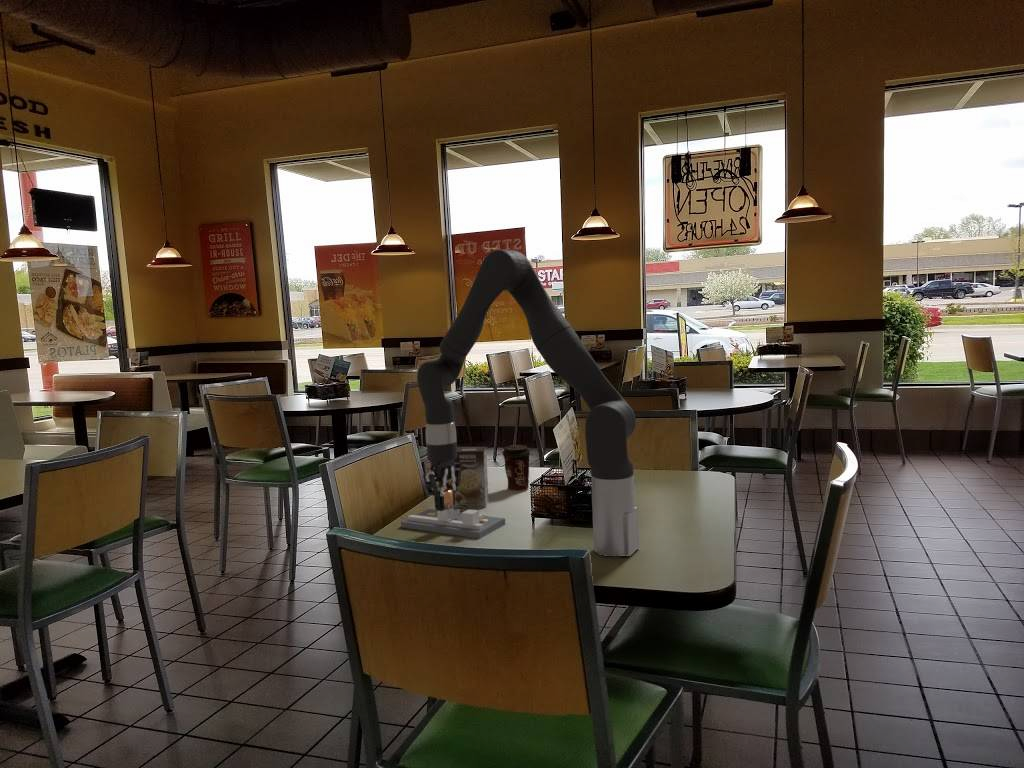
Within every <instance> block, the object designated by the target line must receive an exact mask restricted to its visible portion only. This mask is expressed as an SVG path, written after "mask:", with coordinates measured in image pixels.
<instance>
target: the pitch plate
mask: <svg viewBox="0 0 1024 768" xmlns="http://www.w3.org/2000/svg"><path fill="white" fill-rule="evenodd" d="M479 511H480V510H475V509H467V510H465V511H463V512H460V515H455V516H454V517H455V518H454V519H452V520H450V521H448V522H447V521H440V520H438V515H437V510H436V509H433V508H432V509H431V508H428V509H426V510H424V511H421V512H419V513H417V514H411V515H408V516H407V518H406V519H404V520H401V521H400V527H401V528H404V529H409V530H411V529H412V530H417V531H423V532H425V531H426V532H431V533H438V534H445V533H446V535H452V534H453V536H458V537H459V536H460V537H467V538H474V539H481V538H484V537H486V536H487V535H488V534H490V533H492V532H494V531H496V530H498V529H499V528H501V527H503V526H505V525H506V518H505V517H496V516H488V515H486V514H485V513H484V512H483V513H480V512H479Z"/></svg>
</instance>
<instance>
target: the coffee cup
mask: <svg viewBox="0 0 1024 768" xmlns="http://www.w3.org/2000/svg"><path fill="white" fill-rule="evenodd" d="M530 455H531V452H530V450H529V449H528V446H527V445H523V444H511V445H507V446H504V447H503V451H502V456H503V458H504V459H503V460H504V471H505V474H506V478H507V488H506V489H507V491H508V492H512V493H524V492H526V491H528V489H529V483H530V479H529V478H530Z"/></svg>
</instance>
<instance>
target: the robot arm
mask: <svg viewBox="0 0 1024 768" xmlns="http://www.w3.org/2000/svg"><path fill="white" fill-rule="evenodd" d="M504 291H505V292H506V291H507V292H508V293H509V295H511V296H512V297H513V299H514V300H515V301H516V303H517V304H518V305H519V307H520V309H521V310H522V312H523V314H524V316H525V319H526V323H527V326H528V331H529V333H530V337H531V340H532V342H533V345H534V346H535V349H536V350H537V351H538V352H539V354H540V356H541V357H542V358H543V360H544V361H545V363H546V364H547V366H548V367H549V369H551V371H553V372H554V373H555V374H556V375H557V376H558V377H559V378H560V379H562V381H564V382H565V383H567V384H568V385H569V386H570V387H571V388H573V389H574V390H575V391H576V392H577V393H578V394H579V396H580V397H581V398H582V400H583V401H584V402H585V404H586V405H587V407H588V408H589V410H590V411H589V412H588V413H587V416H586V418H585V425H584V433H585V435H584V436H585V447H586V458H587V463H588V465H589V467H590V474H591V475H590V476H591V479H590V480H591V505H592V508H591V509H592V530H593V531H592V533H593V535H592V536H593V552H594V551H595V552H596V553H598V554H601V555H607V556H619V555H628V556H629V555H631V554H632V553H633V552H634V551H635V550H637V549H638V548H639V549H640V533H639V531H640V530H639V528H640V527H639V507H637V506H635V481H634V480H635V479H634V478H635V475H634V463H633V462H632V460H631V459H629V456H628V445H627V444H628V443H627V439H629V438H630V437H631V436H632V435H633V434H634V432H635V430H636V428H637V419H636V415H635V413H634V410H633V408H632V407H631V405H630V404H628V402H627V401H626V400H625V399H624V397H623V396H622V395H621V394H620V393H619V391H617V389H616V388H615V387H614V386H613V385H612V383H611V382H610V381H609V380H608V378H607V377H606V376H605V374H604V373H603V371H602V370H601V368H600V367H599V365H598V364H597V362H596V361H595V359H594V358H593V356H592V355H591V353H590V352H589V350H588V349H587V348H586V346H585V344H584V342H583V341H582V339H581V338H580V337H579V335H578V334H577V332H576V331H575V330H574V328H573V327H572V325H571V324H570V322H568V320H567V319H566V318H565V316H564V314H563V313H562V311H561V310H560V309H559V308H558V306H557V305H556V303H555V302H554V301H553V299H552V298H551V297H550V295H549V294H548V292H547V291H546V289H545V287H544V285H543V283H542V282H541V280H540V278H539V276H538V275H537V272H536V271H535V269H534V267H533V265H532V264H531V262H530V260H529V259H528V258H527V256H526V255H524V254H523V253H521V252H520V251H517V250H515V249H514V250H513V249H502V248H501V249H495V250H492V251H490V252H489V253H488V254H487V255H486V256H485V257H484V258H483V261H482V263H481V264H480V267H479V269H478V272H477V273H476V276H475V278H474V280H473V283H472V285H471V288H470V289H469V292H468V294H467V297H466V298H465V301H464V302H463V305H462V307H461V308H460V311H459V312H458V314H457V316H456V317H455V318H454V321H453V322H452V324H451V325H450V327H449V328H448V330H447V332H446V334H445V335H444V337H442V340H441V341H440V344H439V351H440V356H439V358H437V359H435V360H429V361H428V360H427V361H425V362H423V363H422V364H421V365H420V366H419V368H418V371H417V376H416V380H417V381H416V382H417V386H418V390H419V393H420V397H421V399H422V402H423V405H424V409H425V410H424V412H425V414H424V415H425V444H426V447H425V448H426V458H427V460H428V461H429V462H430V468H429V472H427V473H426V472H424V473H423V475H422V477H423V481H424V484H425V488H426V491H427V493H428V496H433V497H434V509H435V510H437V511H443V510H444V496H443V492H444V488H450V489H452V490H453V506H454V507H455V490H456V487H459V486H460V480H461V472H462V463H455V461H454V460H455V459H456V458H457V447H458V443H457V441H458V439H457V429H456V424H455V423H456V422H455V411H454V410H455V409H454V403H453V401H452V399H450V398H449V397H445V392H444V388H447V387H449V386H451V385H452V384H454V383H455V381H456V380H457V379H458V378H459V377H460V376H459V375H460V373H461V371H462V368H463V365H464V363H465V359H466V357H467V356H468V355H469V354H470V352H471V350H472V348H473V347H474V345H475V344H476V343H477V341H478V340H479V337H480V336H481V333H482V330H483V327H484V324H485V319H486V316H487V314H488V311H489V309H490V308H491V305H493V303H494V302H495V300H496V299H497V298H498V297H499V296H500V295H501V294H502V293H503V292H504ZM455 477H457V479H456V478H455ZM455 481H456V482H455ZM438 487H439V488H438ZM438 489H439V491H438ZM639 549H638V550H639ZM638 550H637V551H638ZM595 552H594V553H595ZM596 553H595V554H596ZM598 554H597V555H598ZM601 555H600V556H601Z"/></svg>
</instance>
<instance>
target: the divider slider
mask: <svg viewBox="0 0 1024 768" xmlns="http://www.w3.org/2000/svg"><path fill="white" fill-rule="evenodd" d="M438 491H439V488H438ZM443 496H444V510H443V511H437V515H438V520H440V521H447V522H448V521H450V520H452V519H454V518H455V517H454V516H455V515H460V513H461V510H460V509H459V508H457V509H455V505H454V506H453V490H452V489H450V488H445V487H444V492H443Z"/></svg>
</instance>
